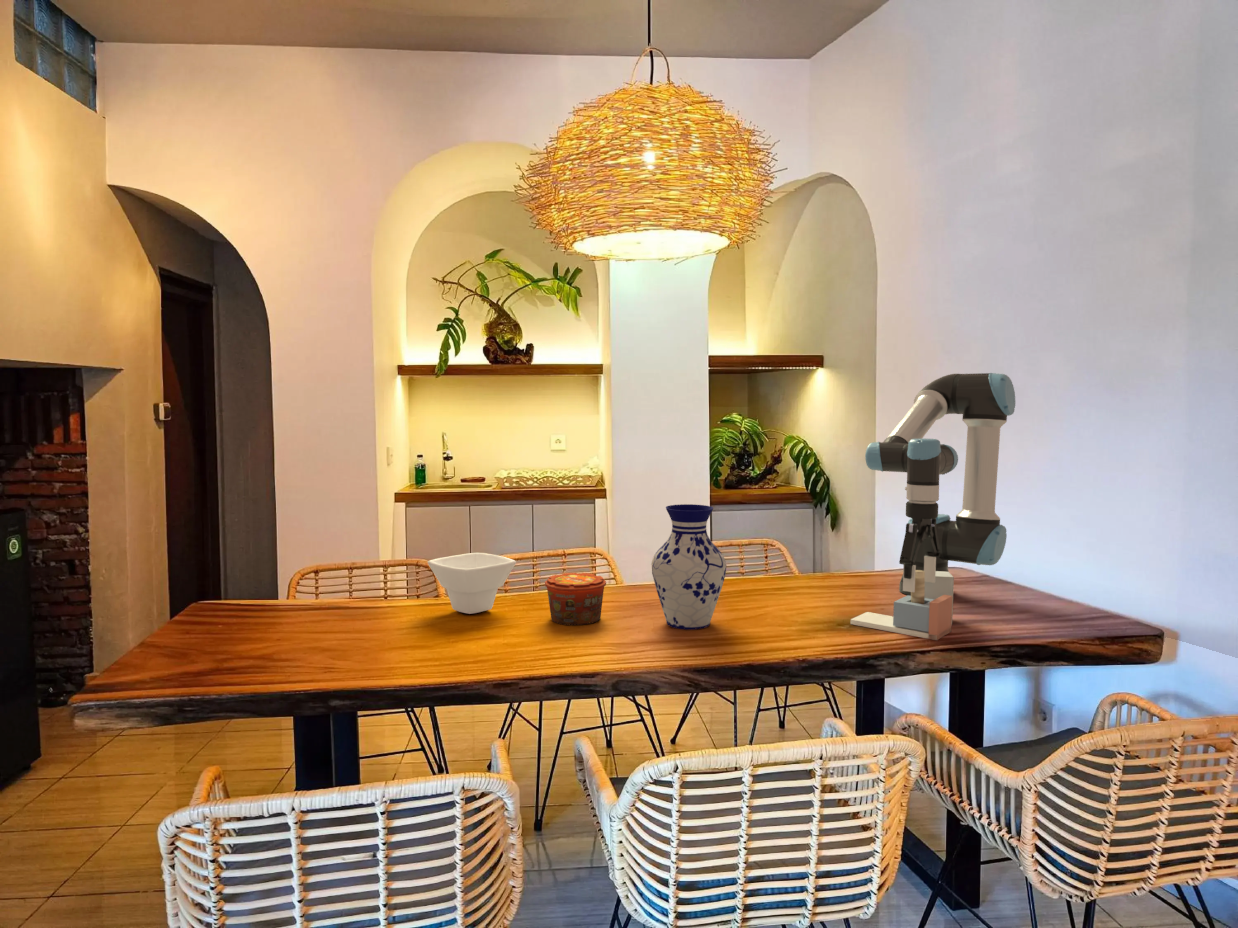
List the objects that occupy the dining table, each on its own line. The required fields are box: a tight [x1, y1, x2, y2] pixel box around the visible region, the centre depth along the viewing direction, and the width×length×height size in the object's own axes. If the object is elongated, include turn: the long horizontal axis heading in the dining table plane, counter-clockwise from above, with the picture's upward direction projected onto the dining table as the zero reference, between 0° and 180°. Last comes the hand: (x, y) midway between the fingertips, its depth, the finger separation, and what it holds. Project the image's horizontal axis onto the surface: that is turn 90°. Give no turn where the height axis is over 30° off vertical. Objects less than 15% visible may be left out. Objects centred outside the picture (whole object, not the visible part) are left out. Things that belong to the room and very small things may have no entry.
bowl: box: [427, 552, 517, 615], centre depth 230 cm, size 19×19×14 cm
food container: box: [544, 572, 607, 626], centre depth 223 cm, size 16×16×11 cm
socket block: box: [893, 594, 934, 632], centre depth 213 cm, size 9×9×6 cm
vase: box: [651, 503, 727, 630], centre depth 218 cm, size 19×19×30 cm
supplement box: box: [925, 571, 955, 626], centre depth 223 cm, size 7×7×13 cm
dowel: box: [911, 570, 925, 604], centre depth 213 cm, size 3×3×12 cm
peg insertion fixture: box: [850, 595, 953, 641], centre depth 216 cm, size 10×22×9 cm, turn 50°
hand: (919, 586), depth 213 cm, fingers open, 13 cm apart
